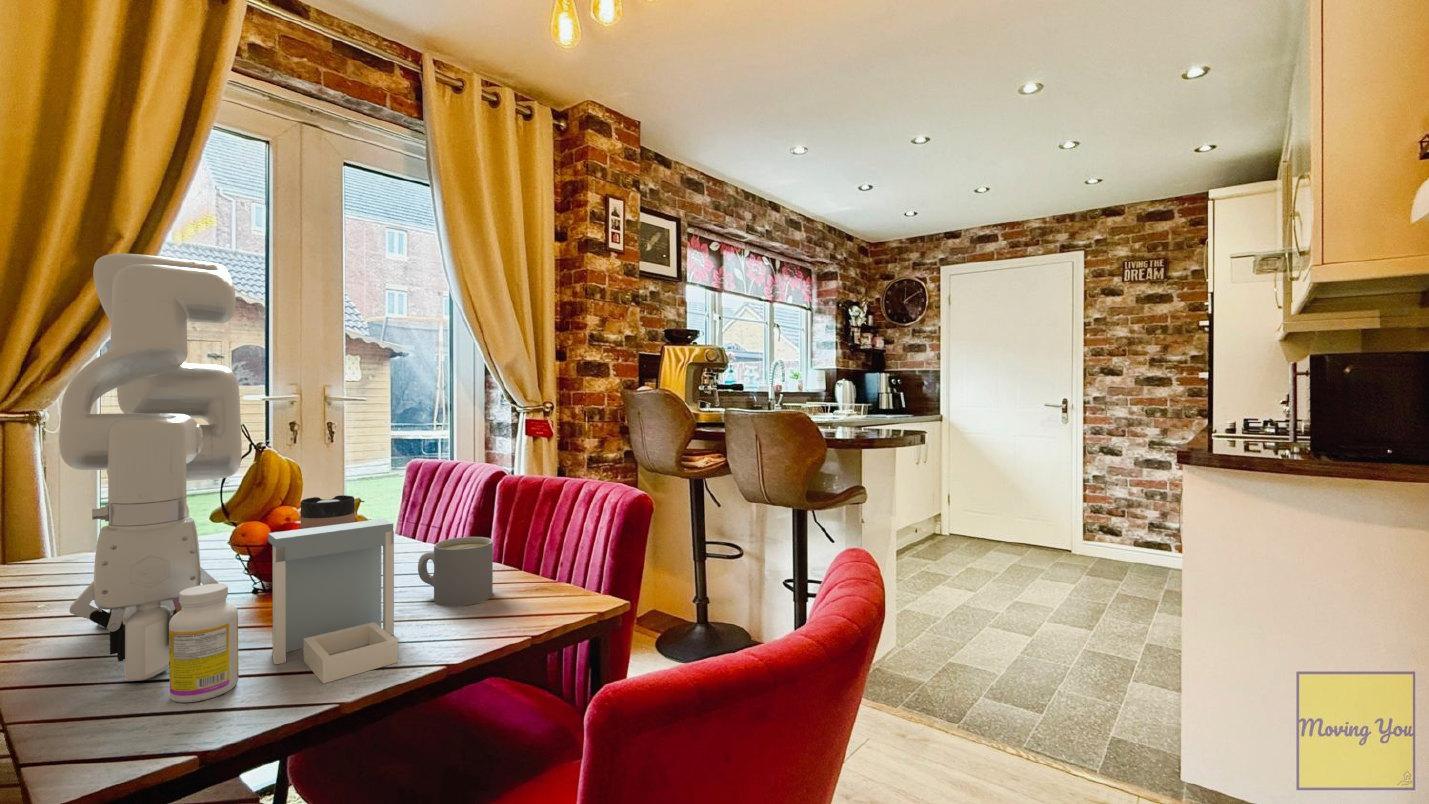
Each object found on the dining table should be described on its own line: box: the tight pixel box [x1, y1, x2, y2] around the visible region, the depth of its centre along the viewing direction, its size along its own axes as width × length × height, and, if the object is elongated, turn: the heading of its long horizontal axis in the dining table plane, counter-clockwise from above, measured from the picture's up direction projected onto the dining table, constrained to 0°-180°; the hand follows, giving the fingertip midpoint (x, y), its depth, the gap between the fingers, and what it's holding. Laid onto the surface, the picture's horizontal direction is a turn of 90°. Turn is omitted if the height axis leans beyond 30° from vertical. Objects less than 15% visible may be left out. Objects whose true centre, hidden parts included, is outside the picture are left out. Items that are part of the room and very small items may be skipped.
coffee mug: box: [417, 536, 494, 608], centre depth 114 cm, size 13×10×10 cm
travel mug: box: [299, 494, 356, 529], centre depth 101 cm, size 8×8×20 cm
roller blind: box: [267, 518, 395, 665], centre depth 92 cm, size 5×15×17 cm, turn 135°
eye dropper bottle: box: [124, 602, 171, 682], centre depth 81 cm, size 4×6×12 cm
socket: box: [303, 622, 399, 684], centre depth 86 cm, size 10×9×3 cm
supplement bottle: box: [168, 583, 240, 703], centre depth 77 cm, size 7×7×13 cm
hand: (149, 650), depth 81 cm, fingers closed on eye dropper bottle, 4 cm apart
